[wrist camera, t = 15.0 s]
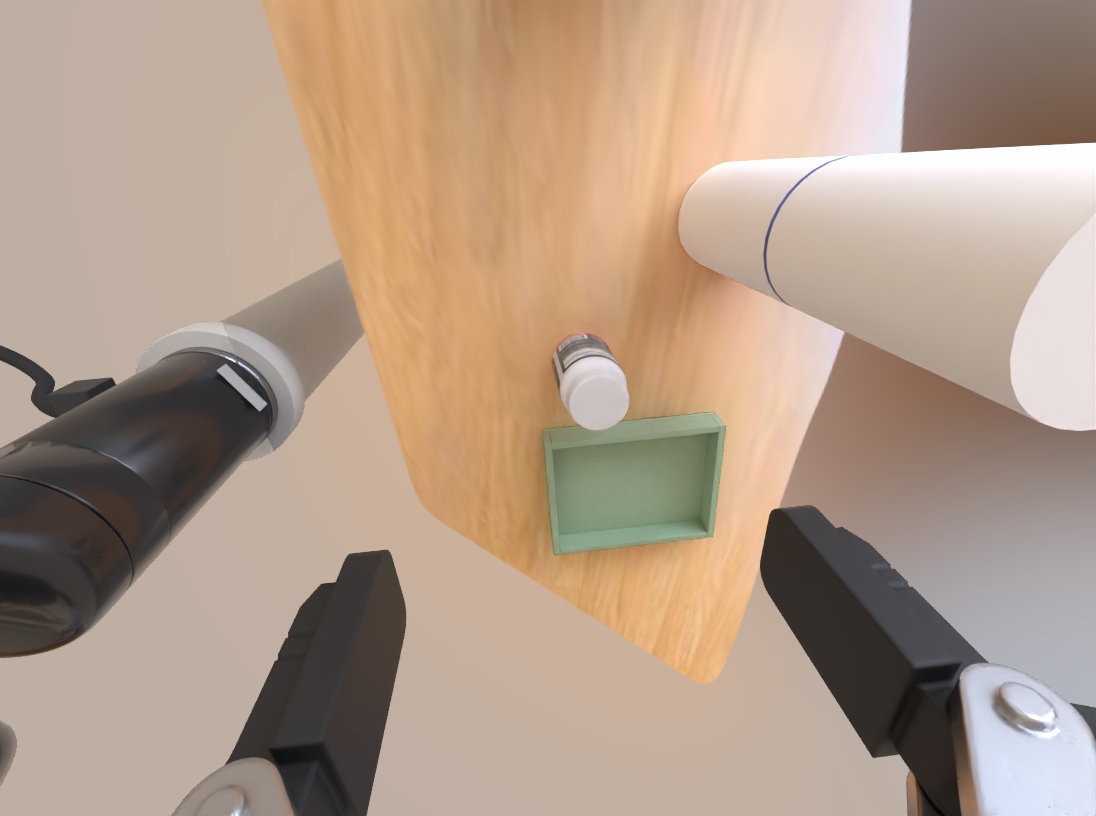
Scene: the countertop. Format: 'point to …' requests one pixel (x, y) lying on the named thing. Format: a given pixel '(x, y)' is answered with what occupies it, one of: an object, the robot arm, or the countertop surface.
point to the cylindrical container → (926, 260)
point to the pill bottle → (590, 381)
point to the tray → (633, 482)
